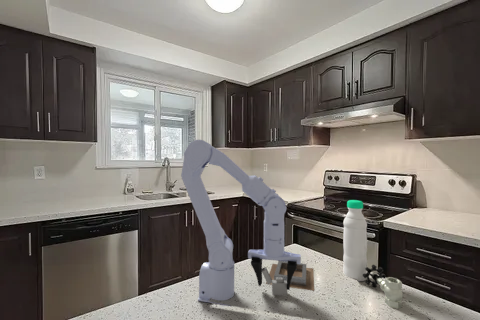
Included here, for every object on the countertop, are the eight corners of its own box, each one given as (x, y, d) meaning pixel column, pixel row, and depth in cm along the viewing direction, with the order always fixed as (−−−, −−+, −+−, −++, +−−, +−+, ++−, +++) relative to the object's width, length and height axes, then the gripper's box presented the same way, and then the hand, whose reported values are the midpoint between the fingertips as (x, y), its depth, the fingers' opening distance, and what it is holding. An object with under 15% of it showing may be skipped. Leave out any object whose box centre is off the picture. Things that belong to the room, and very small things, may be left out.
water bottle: (356, 271, 86) (356, 198, 86) (372, 280, 79) (372, 202, 79) (338, 273, 84) (338, 199, 84) (353, 283, 77) (353, 203, 77)
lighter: (286, 295, 70) (286, 267, 70) (287, 299, 68) (287, 270, 68) (261, 294, 70) (261, 266, 70) (261, 297, 69) (261, 269, 69)
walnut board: (265, 287, 75) (265, 283, 75) (272, 266, 89) (272, 263, 89) (314, 294, 71) (314, 290, 71) (313, 271, 85) (313, 268, 85)
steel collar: (274, 282, 76) (274, 275, 76) (278, 266, 87) (278, 260, 87) (305, 286, 73) (305, 279, 73) (306, 269, 84) (306, 263, 84)
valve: (411, 309, 64) (384, 286, 76) (411, 284, 64) (384, 264, 76) (385, 309, 64) (362, 286, 76) (385, 284, 64) (362, 264, 76)
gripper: (301, 235, 71) (301, 282, 71) (251, 231, 75) (251, 276, 75) (300, 243, 64) (300, 295, 64) (246, 238, 68) (246, 287, 68)
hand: (274, 286), depth 69 cm, fingers open, 7 cm apart
